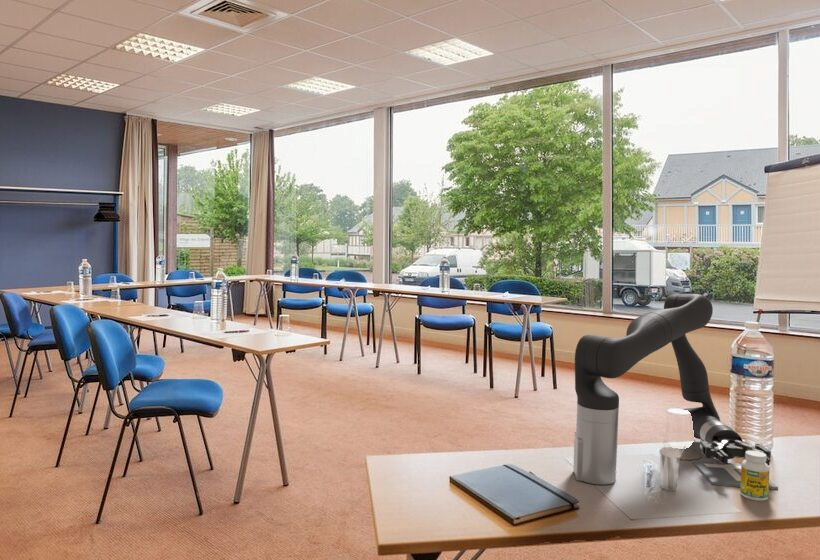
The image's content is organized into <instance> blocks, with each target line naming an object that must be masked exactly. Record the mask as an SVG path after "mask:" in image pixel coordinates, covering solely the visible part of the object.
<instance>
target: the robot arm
mask: <svg viewBox="0 0 820 560" xmlns="http://www.w3.org/2000/svg"><path fill="white" fill-rule="evenodd" d="M712 316H713V305H712V302H711V300H710V299H709V298H708V297H707V296H705V295H702V294H699V293H688V294H687V293H675V294H674V293H673V294H670V295H668V296H667V297H666V299H665V301H664V304H663V309H658V310H657V309H656V310H652V311H649V312H646V313H644V314H642V315H640V316H638V317H636V318H634V319H633V320H632V321H631V322H630V323H629V325H628V326H627V329H626V334H625V336H624V337H618V338H615V337H609V336H603V335H597V334H596V335H594V334H586V335H582V337H581V338H579V340H578V342H577V345H576V347H575V352H574V389H575V394H576V396H577V397H576V398H577V401H576V429H575V432H574V442H573V443H574V444H573V445H574V446H573V473H574V477H575V480H576V481H580V482H585V483H587V484H593V485H600V486H601V485H611V484H614V483H615V482H616V480H617V463H618V461H617V457H618V439H619V438H618V435H619V434H618V433H619V432H618V431H619V430H618V429H619V410H620V409H619V408H620V397H619V394H618V393H617V392H616V391H614V390H613V389H611V388H610V387H609V386H608V385H607V384H606V383H605V382H604V381H603V379H602V378H606V379H616V378H617V379H618V378H620V377H621V376H623V375H625V374H626V373H627V372H629V370H630V369H632V368H634V366H636V365H637V364H638V363H639V362H640V361H641V360H643V359H645V358H646V357H648V356H649V355H651V354H653V353H655V352H657V351H659V350H660V349H663V348H664V347H666V346H667V345H668V344H670V343H671V346H672V349H673V352H674V355H675V360H676V362H677V368H678V373H679V381H680V389H681V395H682V398H683V399H684V400H685V401H687V402H690V403H699V404H702V406H700V407H699V406H697V407H689V408H684V409H683V410H688V411H689V412H690V413H691V416H692V421H693V430H694V437H695V439H698V440H699V451H700V452H701V454H702V455H703V456H704V457H705V458H707V459H711V458H714V460H717V461H718V462H722V463H723V464H725V465H727V464H728V463H729V460H733V459H735V458H736V459H742V460H747V459H746V458H745V452H746V451H758V452H762V453H764V454H766V462H765V463H766V464H767V465H768V466H769V467H770V464H771V457H772V456H771V453H772V451H771V450H769V449H768V448H766V447H765V446H763V445H762V444H761V443H755V444H754V446H753V445H750V444H747V443H745V442H744V441H743V439H742V437H741V435H740V434H739V433H738V432H737V431H735V430H734V429H733V428H731V426H730V425H727V424H726V423H724V422H722V421H721V417H720V415H719V412H718V411H717V409H716V407H715V405H714V402H713V400H712V399H713V398H712V396H711V392H710V386H709V385H710V383H709V378H708V377H709V376H708V371H707V368H706V366H705V364H704V362H703V361H702V359H701V358H700V357H699V355H698V354H697V352H696V351H695V350H694V348H693V346H692V345H691V344H690V342H689V340H688V337H687V334H688V333H691V332H694V331H697V330H699V329H702V328H703V327H706V326H707V324H708V323H709V322H710V321H711V319H712ZM694 437H693V438H694Z"/></svg>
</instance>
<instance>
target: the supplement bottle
mask: <svg viewBox="0 0 820 560" xmlns="http://www.w3.org/2000/svg"><path fill="white" fill-rule="evenodd" d="M745 458H746V459H747V460H745V459H743V460H742V461H741V463H740V464H741V486H740V487H739V488H740V491H739V493H740V495H741V496H742V497H744V498H746V499H748V500H752V501H757V502H765V501H767V500H768V499H769V494H770V493H769V492H770V489H769V479H770V473H771V471H770V469H771V468H770V465H769V466H768V465H767V464H766V463H765V462H766V454H764V453H762V452H758V451H746V452H745Z"/></svg>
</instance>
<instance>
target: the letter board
mask: <svg viewBox="0 0 820 560" xmlns="http://www.w3.org/2000/svg"><path fill="white" fill-rule="evenodd" d="M692 464H693V465H694V466H695V467H696V468H697V469H698V471H699V472H700V473H701V474H702V475H703V477H704V478H705V479H706V480H707V481H708V482H709V483H710V485H712V486H713V485H714V486H725V487H739V488H740V486H741V464H742V463H736V462H728V464H727V465H725V464H723V463H722V462H720V461H708V460H694V459H693V460H692ZM778 486H779V485H776V483H774V482H773V481H772V480H770V478H769V490H777V491H778V490H779V487H778Z"/></svg>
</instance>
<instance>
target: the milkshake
mask: <svg viewBox="0 0 820 560" xmlns="http://www.w3.org/2000/svg"><path fill="white" fill-rule="evenodd" d="M685 448H686V445H684V446H683V448H682V450H681V451H680V450H679V449H677V448H674V447H671V446H668V447H667V446H664V447H661V448H660V449H659V451H658V452H659V465H660V468H659V469H660V470H659V471H660V472H659V473H660V488H661V489H663V490H665V491H671V492H674V491H677V488H678V481H679V471H680V466H681V460H682V453H683V452H684V450H685Z"/></svg>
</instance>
